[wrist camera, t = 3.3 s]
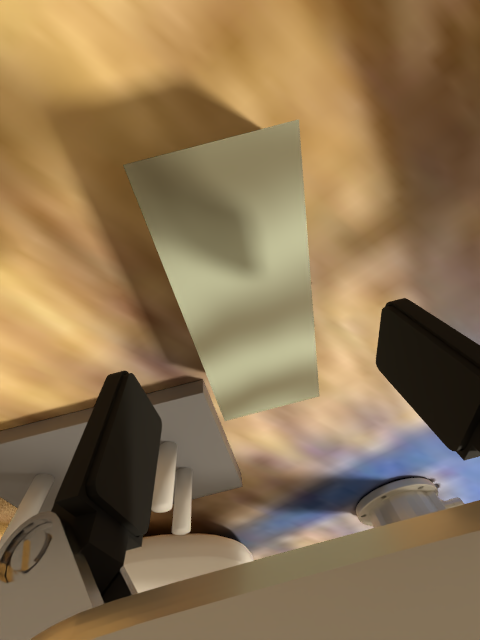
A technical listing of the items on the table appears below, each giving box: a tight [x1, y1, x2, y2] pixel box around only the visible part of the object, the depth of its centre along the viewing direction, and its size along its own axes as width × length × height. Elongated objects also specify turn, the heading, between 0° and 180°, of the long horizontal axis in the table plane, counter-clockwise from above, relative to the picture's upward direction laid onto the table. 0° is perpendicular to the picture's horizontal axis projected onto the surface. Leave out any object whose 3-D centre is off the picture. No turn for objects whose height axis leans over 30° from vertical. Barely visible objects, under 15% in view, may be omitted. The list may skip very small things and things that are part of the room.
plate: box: [124, 533, 254, 593], centre depth 37 cm, size 28×6×27 cm
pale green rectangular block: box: [123, 120, 319, 421], centre depth 16 cm, size 16×7×5 cm, turn 12°
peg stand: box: [0, 380, 243, 549], centre depth 23 cm, size 22×16×6 cm
